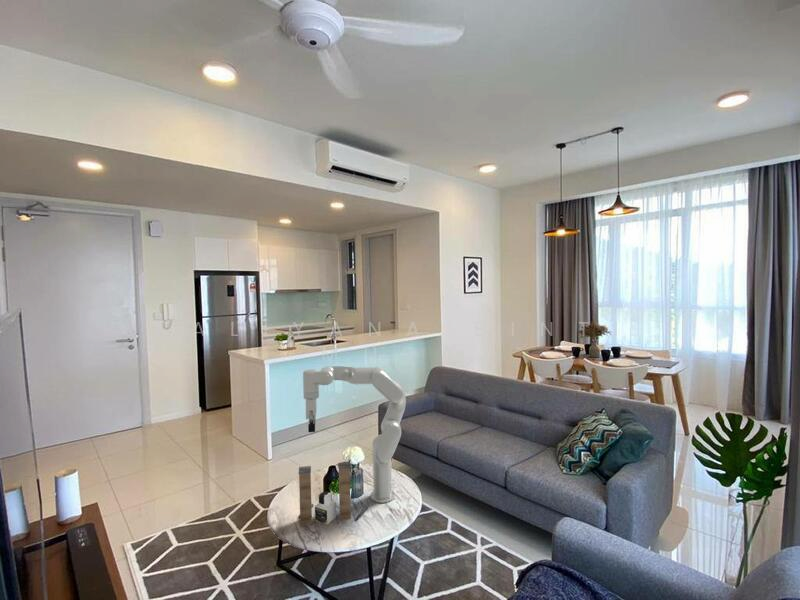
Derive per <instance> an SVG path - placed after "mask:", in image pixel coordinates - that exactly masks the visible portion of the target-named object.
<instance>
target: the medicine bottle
mask: <svg viewBox="0 0 800 600" xmlns="http://www.w3.org/2000/svg"><path fill="white" fill-rule="evenodd" d="M336 517H337V502H336V501H334V500H333V493H331V492H330V491H323V492H320V493H319V494H318V503H317V504H316V505H314V519H315V520H314V521H315V522H318V523H321V524H324V525H327V526H328V524H330V523H331V522H332V521H333V520H335V519H336Z"/></svg>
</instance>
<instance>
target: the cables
mask: <svg viewBox="0 0 800 600" xmlns="http://www.w3.org/2000/svg"><path fill="white" fill-rule="evenodd" d="M311 506H312V508H314V507H315V505H314V504H313V503H311ZM367 509H368V506H367V505H365V507H364V508H362V510H361V511H360V512H359V513H358V515H357V516H356V517H355V521H358V520H359V519H360V518H361V517H362V515H363V514H364V513H365V512H366V510H367ZM298 518H299V519H300V514H299V516H298Z"/></svg>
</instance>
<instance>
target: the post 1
mask: <svg viewBox="0 0 800 600" xmlns="http://www.w3.org/2000/svg"><path fill="white" fill-rule="evenodd" d="M311 471H312V466H311V465H306V466H304V465H303V466H299V467H298V481H299V485H298V487H299V491H298V492H299V515H300V518H299V522H300V526H307V525H312V523H313V522H312V521H313V516H312V515H313V513H312V512H313V510H312V508H313V507H312V506H311V505H312V480H311V479H312V474H311V473H312V472H311Z"/></svg>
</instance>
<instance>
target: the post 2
mask: <svg viewBox="0 0 800 600" xmlns="http://www.w3.org/2000/svg"><path fill="white" fill-rule="evenodd" d="M337 469H338V497H339V498H338V500H339V501H338V503H339V505H338V507H339V508H338V509H339V520H340V521H343V520H344V521H345V520H351V519H352V516H351V514H352V512H351V511H352V508H351V507H352V506H351V471H350V470H351V464H350V461H344V462H343V461H342V462H338V463H337Z"/></svg>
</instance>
